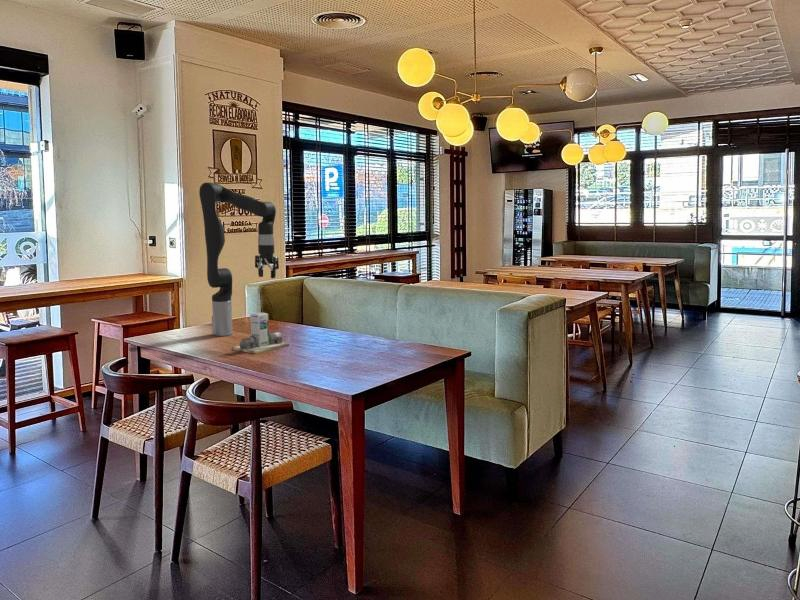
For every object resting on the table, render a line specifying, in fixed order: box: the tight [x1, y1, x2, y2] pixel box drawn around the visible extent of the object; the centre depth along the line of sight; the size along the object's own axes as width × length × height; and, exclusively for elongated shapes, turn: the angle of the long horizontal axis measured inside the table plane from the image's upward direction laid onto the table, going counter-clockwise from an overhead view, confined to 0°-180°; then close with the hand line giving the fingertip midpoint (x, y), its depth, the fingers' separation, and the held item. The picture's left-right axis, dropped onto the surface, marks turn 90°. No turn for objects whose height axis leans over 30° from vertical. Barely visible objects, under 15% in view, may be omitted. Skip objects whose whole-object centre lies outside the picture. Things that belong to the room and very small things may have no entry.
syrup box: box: [249, 312, 270, 346], centre depth 283 cm, size 6×6×14 cm
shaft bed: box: [231, 331, 290, 355], centre depth 284 cm, size 16×21×6 cm
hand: (267, 277), depth 302 cm, fingers open, 8 cm apart
